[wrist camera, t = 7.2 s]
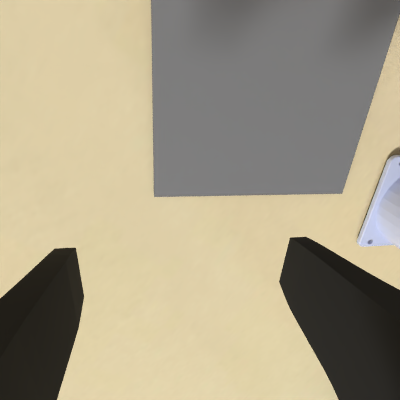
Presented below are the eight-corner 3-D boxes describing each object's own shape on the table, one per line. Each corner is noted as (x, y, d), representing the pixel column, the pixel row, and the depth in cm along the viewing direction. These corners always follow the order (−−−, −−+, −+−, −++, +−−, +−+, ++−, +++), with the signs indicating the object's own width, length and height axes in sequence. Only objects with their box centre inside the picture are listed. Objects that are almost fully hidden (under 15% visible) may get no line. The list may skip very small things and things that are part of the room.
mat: (398, 1, 16) (403, 0, 16) (338, 191, 21) (342, 193, 21) (150, -28, 14) (151, -30, 13) (153, 194, 19) (154, 197, 19)
